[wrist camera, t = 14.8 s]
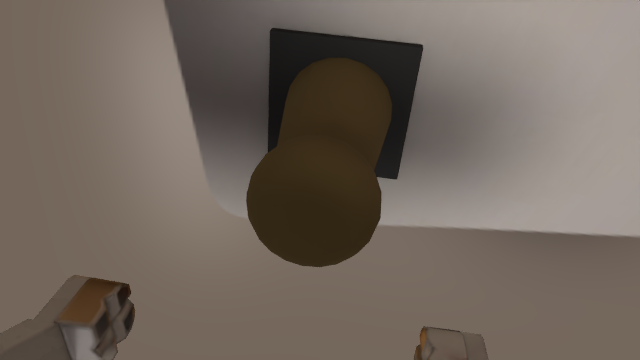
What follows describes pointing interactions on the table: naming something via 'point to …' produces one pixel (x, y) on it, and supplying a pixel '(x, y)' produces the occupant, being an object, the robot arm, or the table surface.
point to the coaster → (381, 56)
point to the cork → (323, 166)
